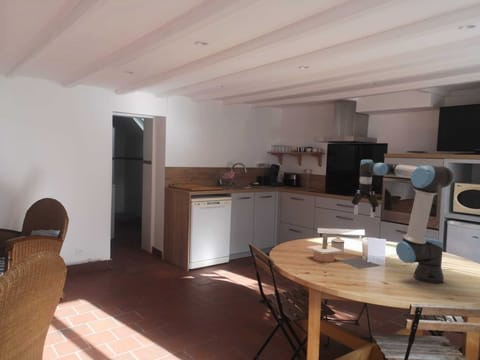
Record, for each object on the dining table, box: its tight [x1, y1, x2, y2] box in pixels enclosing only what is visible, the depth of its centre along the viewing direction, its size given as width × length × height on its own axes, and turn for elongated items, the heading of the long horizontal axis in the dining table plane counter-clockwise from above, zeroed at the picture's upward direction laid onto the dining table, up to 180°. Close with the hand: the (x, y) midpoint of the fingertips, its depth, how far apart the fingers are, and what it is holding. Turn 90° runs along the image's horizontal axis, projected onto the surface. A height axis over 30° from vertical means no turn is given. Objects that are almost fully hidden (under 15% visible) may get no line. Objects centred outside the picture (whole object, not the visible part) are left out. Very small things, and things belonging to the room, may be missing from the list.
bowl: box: [313, 250, 336, 263], centre depth 238 cm, size 13×13×6 cm
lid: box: [306, 233, 343, 254], centre depth 238 cm, size 16×16×10 cm
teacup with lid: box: [327, 236, 345, 255], centre depth 258 cm, size 12×9×12 cm
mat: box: [337, 257, 382, 270], centre depth 232 cm, size 19×19×1 cm
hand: (364, 215), depth 238 cm, fingers open, 13 cm apart
